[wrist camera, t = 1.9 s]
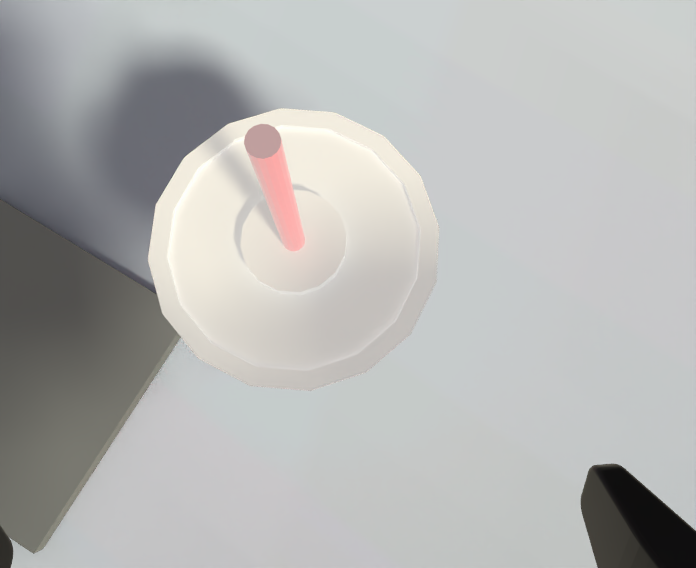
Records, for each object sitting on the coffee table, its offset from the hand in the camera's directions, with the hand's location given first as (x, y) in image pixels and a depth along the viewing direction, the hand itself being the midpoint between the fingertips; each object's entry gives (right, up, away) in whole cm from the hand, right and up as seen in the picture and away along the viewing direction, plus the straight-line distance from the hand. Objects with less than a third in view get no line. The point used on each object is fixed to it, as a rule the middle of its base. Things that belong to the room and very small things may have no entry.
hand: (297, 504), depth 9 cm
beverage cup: (0, +2, +12) cm, 13 cm away
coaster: (-11, +1, +12) cm, 16 cm away
